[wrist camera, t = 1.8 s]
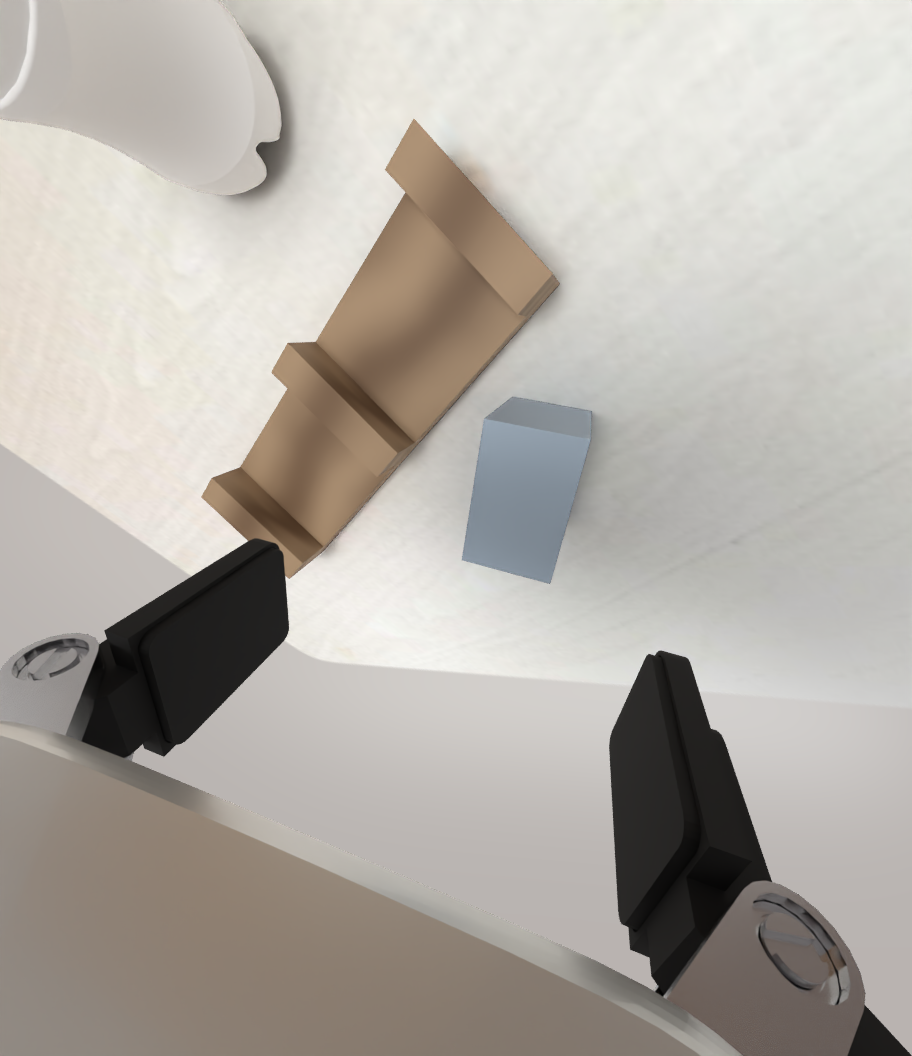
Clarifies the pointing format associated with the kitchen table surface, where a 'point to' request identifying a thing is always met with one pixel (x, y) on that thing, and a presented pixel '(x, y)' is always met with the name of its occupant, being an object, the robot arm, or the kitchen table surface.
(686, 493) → the kitchen table surface
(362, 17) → the kitchen table surface
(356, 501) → the wooden divided rack
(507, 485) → the blue-grey rectangular block
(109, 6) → the water bottle
